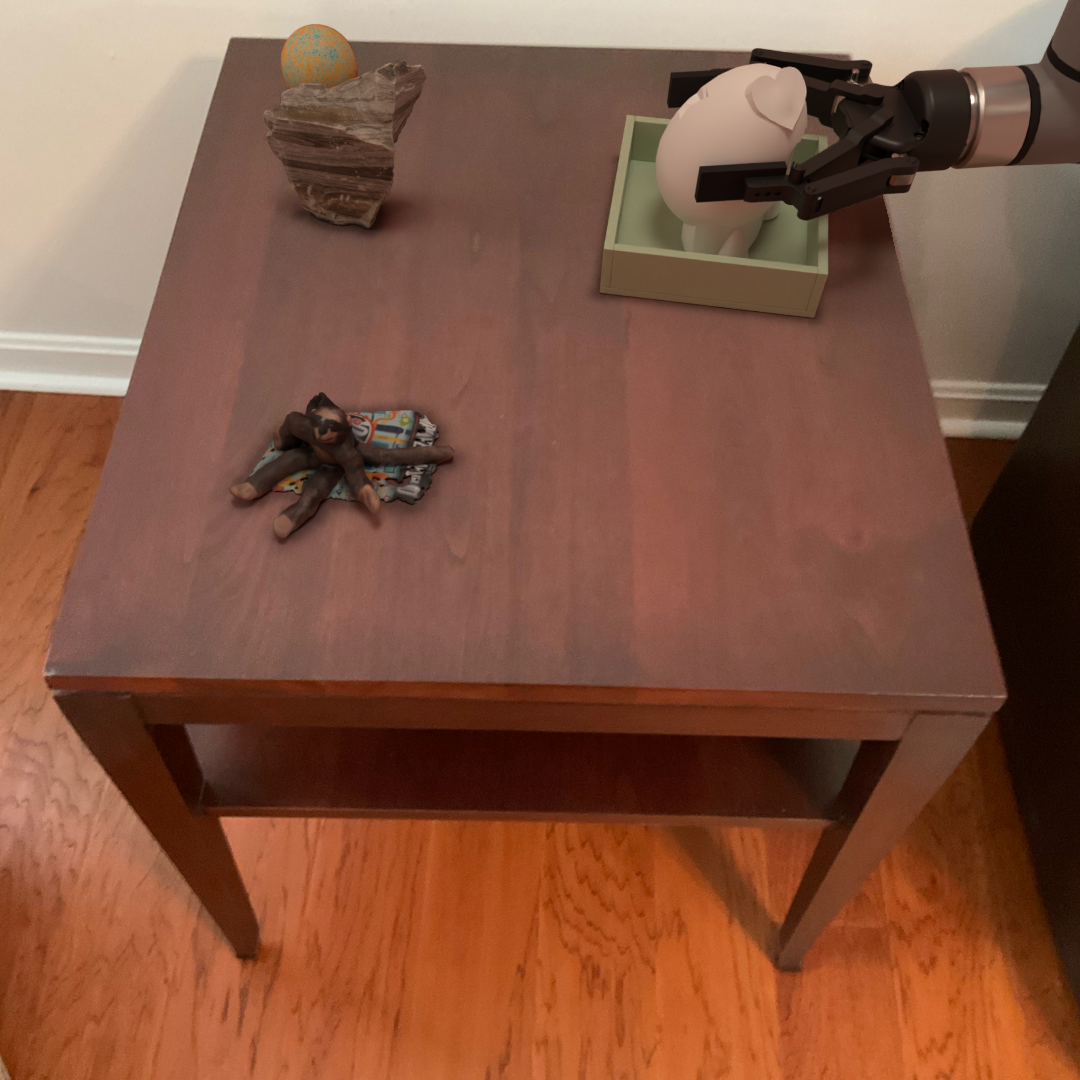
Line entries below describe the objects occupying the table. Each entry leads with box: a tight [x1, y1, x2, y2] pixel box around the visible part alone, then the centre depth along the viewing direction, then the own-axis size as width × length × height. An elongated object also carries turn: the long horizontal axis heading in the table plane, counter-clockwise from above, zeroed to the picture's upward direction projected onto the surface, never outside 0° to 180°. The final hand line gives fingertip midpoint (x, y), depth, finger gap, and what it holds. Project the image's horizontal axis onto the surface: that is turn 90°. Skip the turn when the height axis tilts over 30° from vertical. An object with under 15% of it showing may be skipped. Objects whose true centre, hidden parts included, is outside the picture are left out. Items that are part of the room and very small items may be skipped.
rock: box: [263, 58, 427, 230], centre depth 84 cm, size 13×6×15 cm, turn 72°
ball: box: [280, 23, 358, 89], centre depth 96 cm, size 7×7×7 cm
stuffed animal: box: [228, 391, 455, 539], centre depth 74 cm, size 12×10×12 cm
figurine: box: [656, 63, 808, 259], centre depth 82 cm, size 11×11×15 cm
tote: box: [599, 114, 829, 319], centre depth 87 cm, size 18×18×5 cm
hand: (682, 135), depth 80 cm, fingers closed on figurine, 11 cm apart
